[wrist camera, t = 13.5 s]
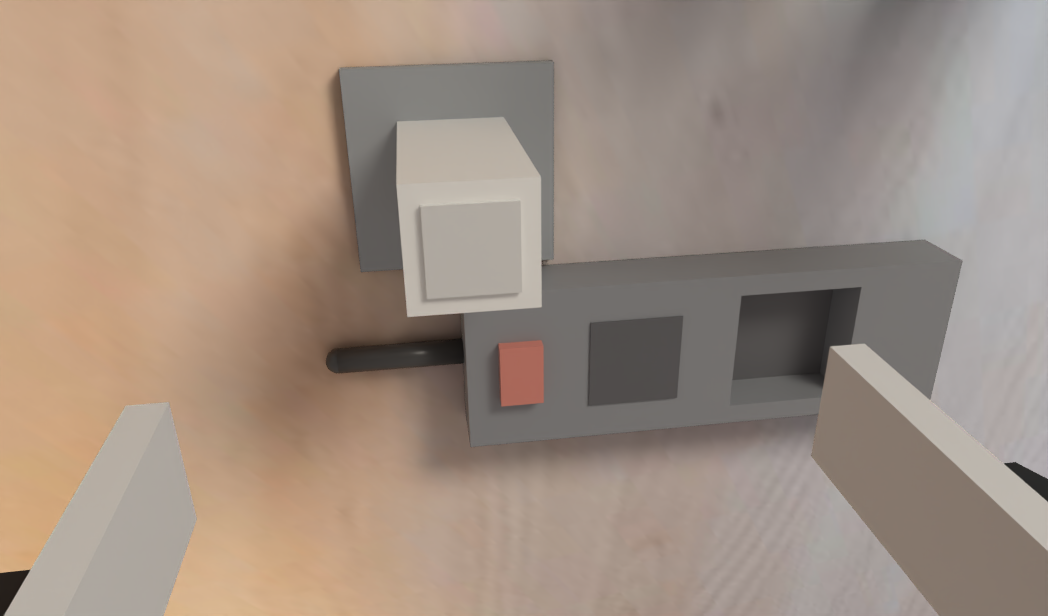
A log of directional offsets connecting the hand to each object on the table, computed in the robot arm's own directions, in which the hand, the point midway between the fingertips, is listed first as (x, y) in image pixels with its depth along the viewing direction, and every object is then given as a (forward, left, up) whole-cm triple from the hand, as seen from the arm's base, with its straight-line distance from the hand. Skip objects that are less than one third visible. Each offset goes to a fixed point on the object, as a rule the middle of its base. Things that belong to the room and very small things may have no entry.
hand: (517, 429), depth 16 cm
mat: (0, 0, -22) cm, 22 cm away
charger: (0, 0, -21) cm, 21 cm away
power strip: (+12, -9, -22) cm, 27 cm away
